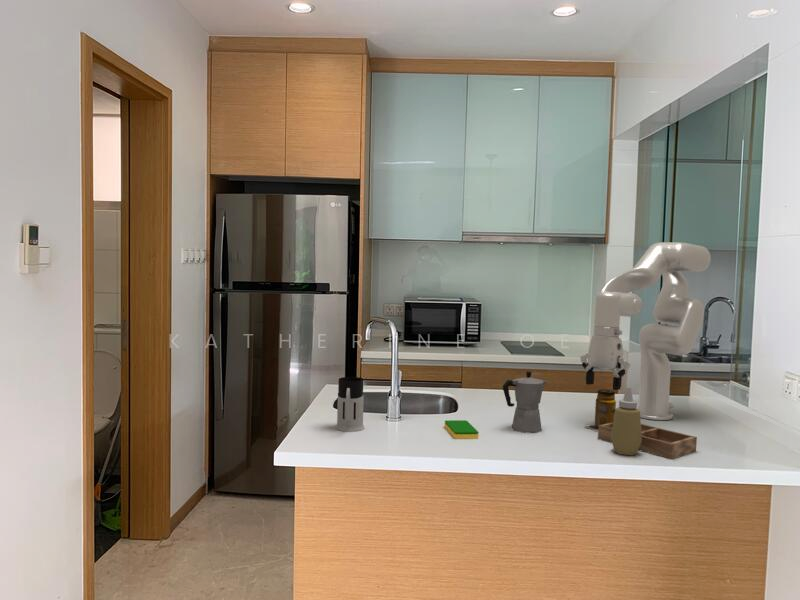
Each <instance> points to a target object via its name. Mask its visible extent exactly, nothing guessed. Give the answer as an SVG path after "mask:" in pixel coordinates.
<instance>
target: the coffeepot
mask: <svg viewBox="0 0 800 600" xmlns="http://www.w3.org/2000/svg"><path fill="white" fill-rule="evenodd" d="M525 374H526V377H520V378H515V379H507V380H506V381H505V382H504V383H503V385H502V391H503V394H504V397H505V402H506V404H507V406H508V407H511V408H513V407H515V403H512V402H511V401H512V400H511V395H510V390H509V389H510V388H509V387H514V396H515V402H516V407H515V411H514V416H513V420H512V424H511V427H512V429H513V430H514V431H516V432H519V431H520V433H526V432H527V434H528V433H530V434H533V433H534V432H535V433H539V432H541V431H542V430H543V429H542V422H541V420H542V419H541V414H540V409H539V407H540V405H539V404H540V403H541V400H542V395H543V394H542V393H543V388H544V387H545V385H546V384H547V383H548V381H547V380H545V379H544V380H543V379H539V378H534V377H532V376H531V375H532V371H525ZM535 433H534V434H535Z"/></svg>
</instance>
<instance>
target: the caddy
mask: <svg viewBox="0 0 800 600" xmlns="http://www.w3.org/2000/svg"><path fill="white" fill-rule="evenodd" d="M612 427H613V422H611V423H607V424H603V425H599V426H598V431H597V439H598V440H600V439H601V441H604V442H608V443H611V442H612V440H611V433H612ZM641 434H642V442H641V445H640V447H639V449H638V451H640V450H642V451H641V452H644V451H645V452H644V453H647V452H649V453H648V454H651V453H652V454H651V455H654V454H656V455H655V456H658V455H659V456H658V457H662V456H663V457H662V458H665V457H667V458H666V459H669V458H670V459H669V460H673V459H676V457H677V458H680V457H682V456H685V454H686V455H688V454H691V453H694V452H697V445H698V444H697V440H698V438H697V436H694V435H690V434H685V433H681V432H678V431H673V430H669V429H664V428H661V427H657V426H653V425H652V426H651V425H648V424H644V423H641ZM679 456H680V457H679Z"/></svg>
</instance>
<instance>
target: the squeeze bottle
mask: <svg viewBox="0 0 800 600" xmlns="http://www.w3.org/2000/svg"><path fill="white" fill-rule="evenodd" d="M638 409H639V408H638V401H637V400H634V397H633V391H632V387H626V388H625V392H624V395H623V399H619V400H618V407H616V409H615V414H614V420H613V427H612V433H611V440H612V443H611V444H612V447H613V451H614V452H615V453H616V454H620V455H624V456H634V455H637V453H638V452H639V450H638V449H639V447H640V445H641V442H642V434H641V424H642V421H641V419H642V418H641V417H640V411H639V410H638Z"/></svg>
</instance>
